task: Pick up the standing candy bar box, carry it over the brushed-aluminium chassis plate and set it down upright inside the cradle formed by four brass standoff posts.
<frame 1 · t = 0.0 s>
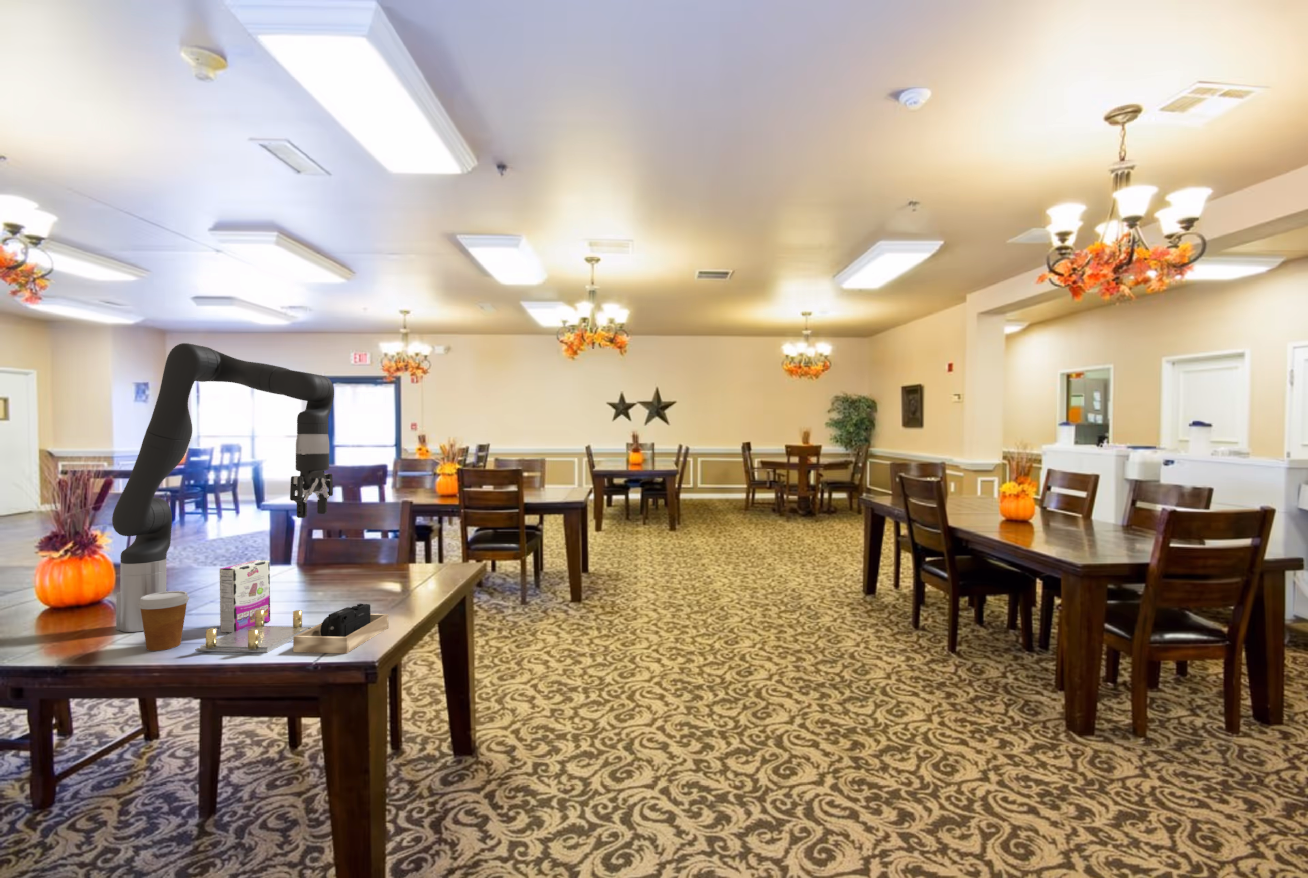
hand: (312, 515, 158), 29 cm above the table, fingers open, 8 cm apart
chassis: (256, 641, 150), on the table
camera: (344, 640, 152), resting in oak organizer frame
candy bar box: (245, 627, 161), on the table
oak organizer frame: (343, 639, 151), on the table
disposable coffee cup: (163, 647, 146), on the table
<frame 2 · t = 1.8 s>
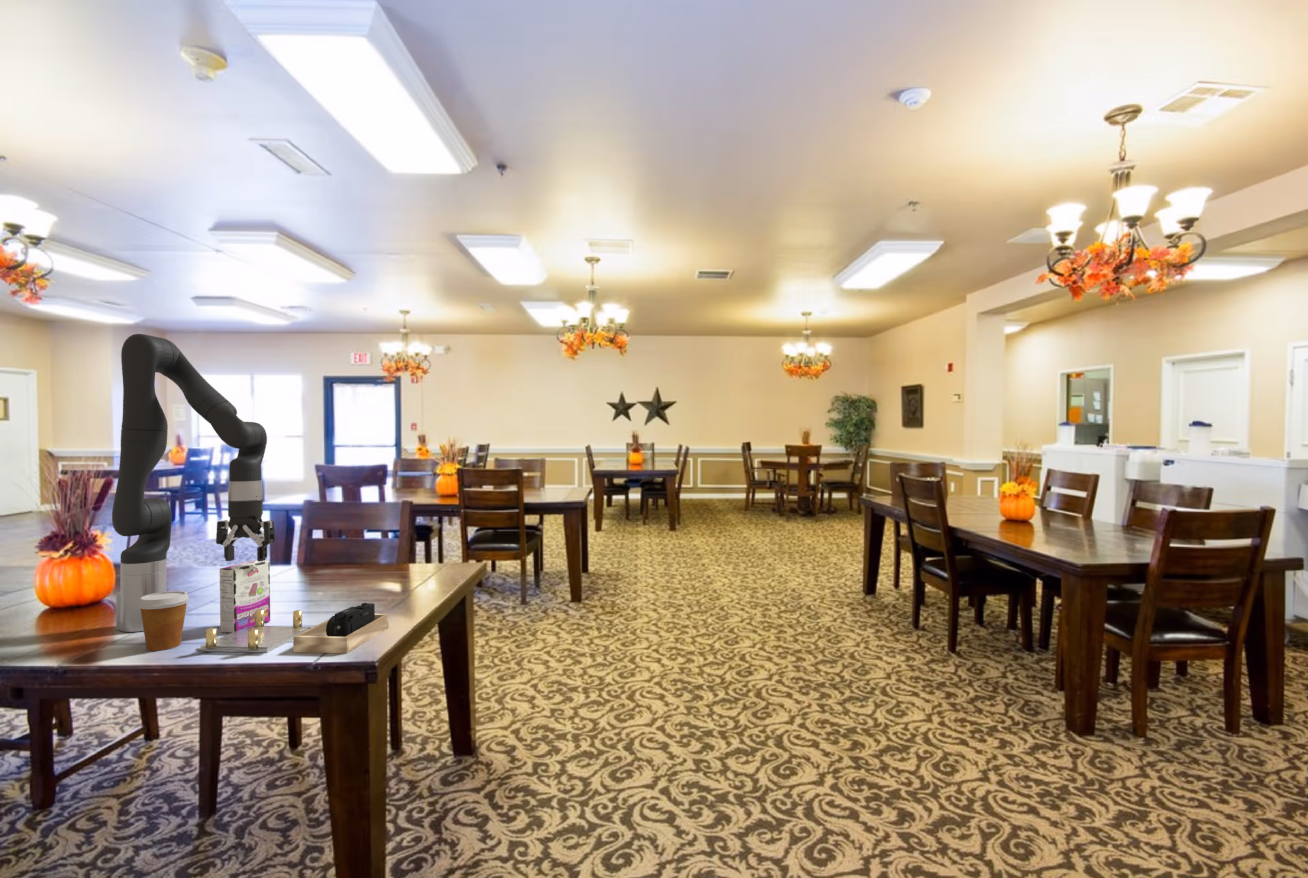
hand: (245, 560, 161), 17 cm above the table, fingers open, 8 cm apart
camera: (349, 639, 152), resting in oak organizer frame
everything else where it was.
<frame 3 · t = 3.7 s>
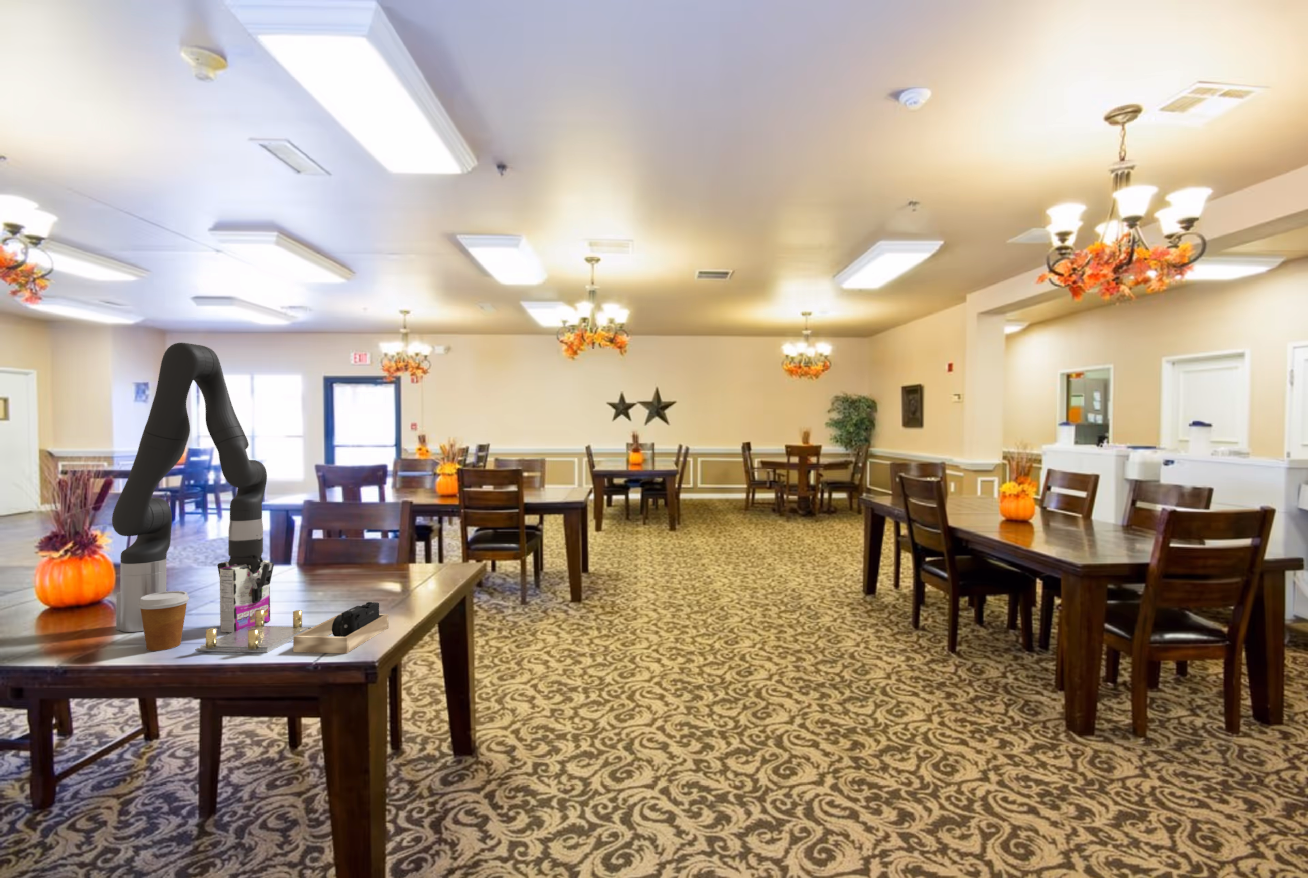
hand: (245, 601, 161), 6 cm above the table, fingers closed on candy bar box, 5 cm apart
camera: (355, 638, 153), resting in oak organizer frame
candy bar box: (245, 627, 161), on the table, touching gripper
everything else where it was.
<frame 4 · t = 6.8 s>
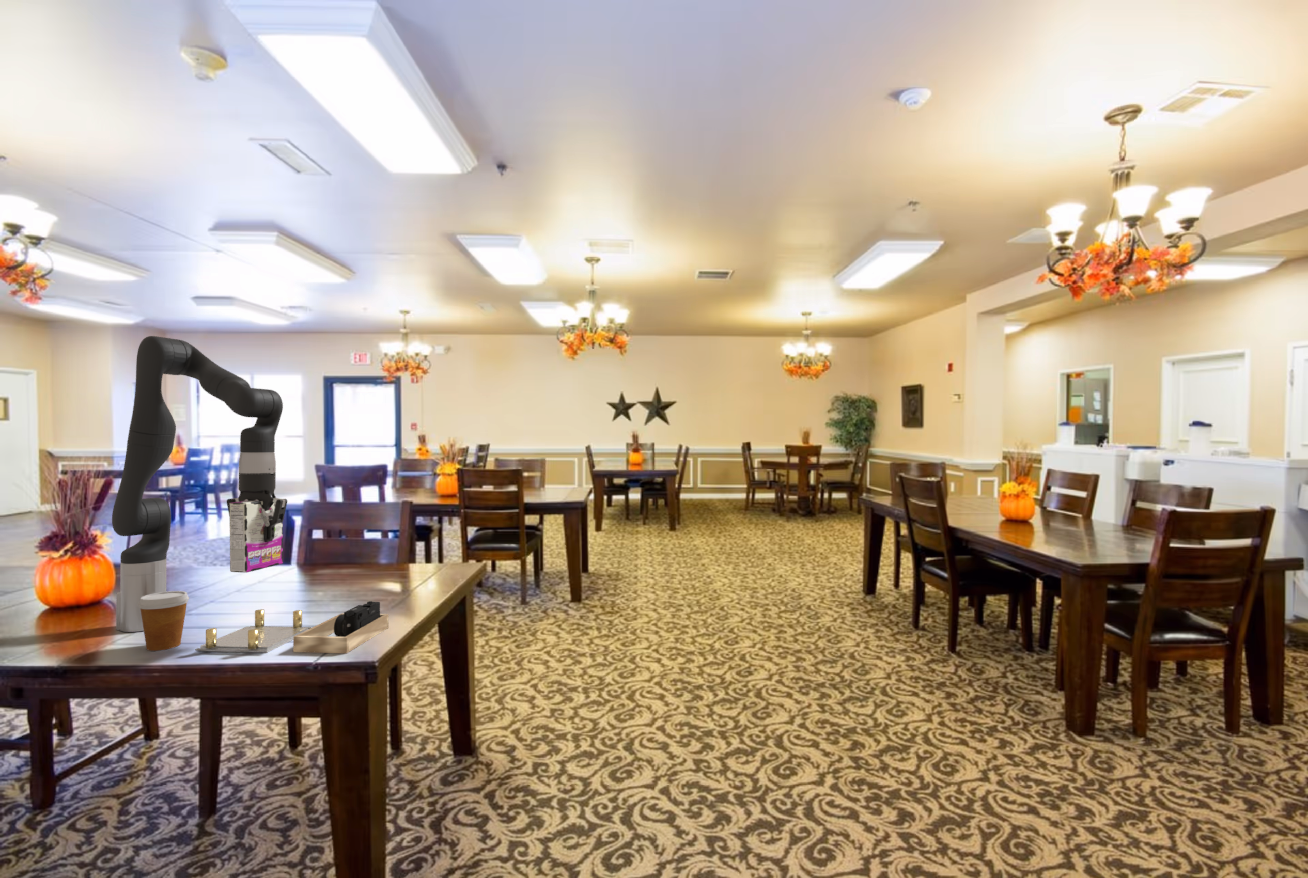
hand: (256, 541, 150), 24 cm above the table, fingers closed on candy bar box, 5 cm apart
camera: (356, 637, 154), resting in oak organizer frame
candy bar box: (256, 568, 150), point 17 cm above the table, touching gripper
everything else where it was.
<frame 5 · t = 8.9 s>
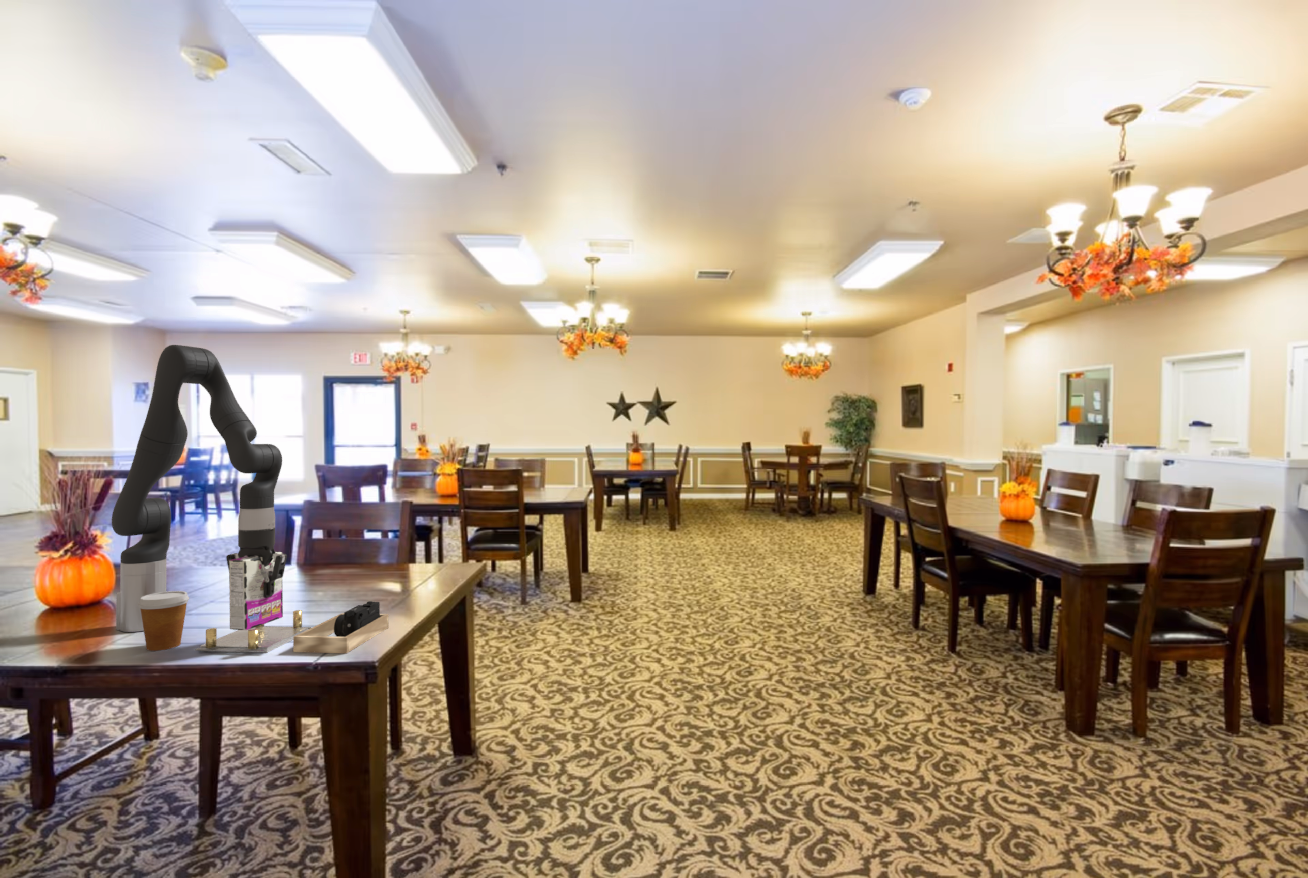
hand: (256, 596, 150), 11 cm above the table, fingers closed on candy bar box, 5 cm apart
candy bar box: (256, 624, 150), point 4 cm above the table, touching gripper
everything else where it was.
when the fingers open (9 cm above the table, at t = 10.2 s): candy bar box drops 1 cm, resting on chassis.
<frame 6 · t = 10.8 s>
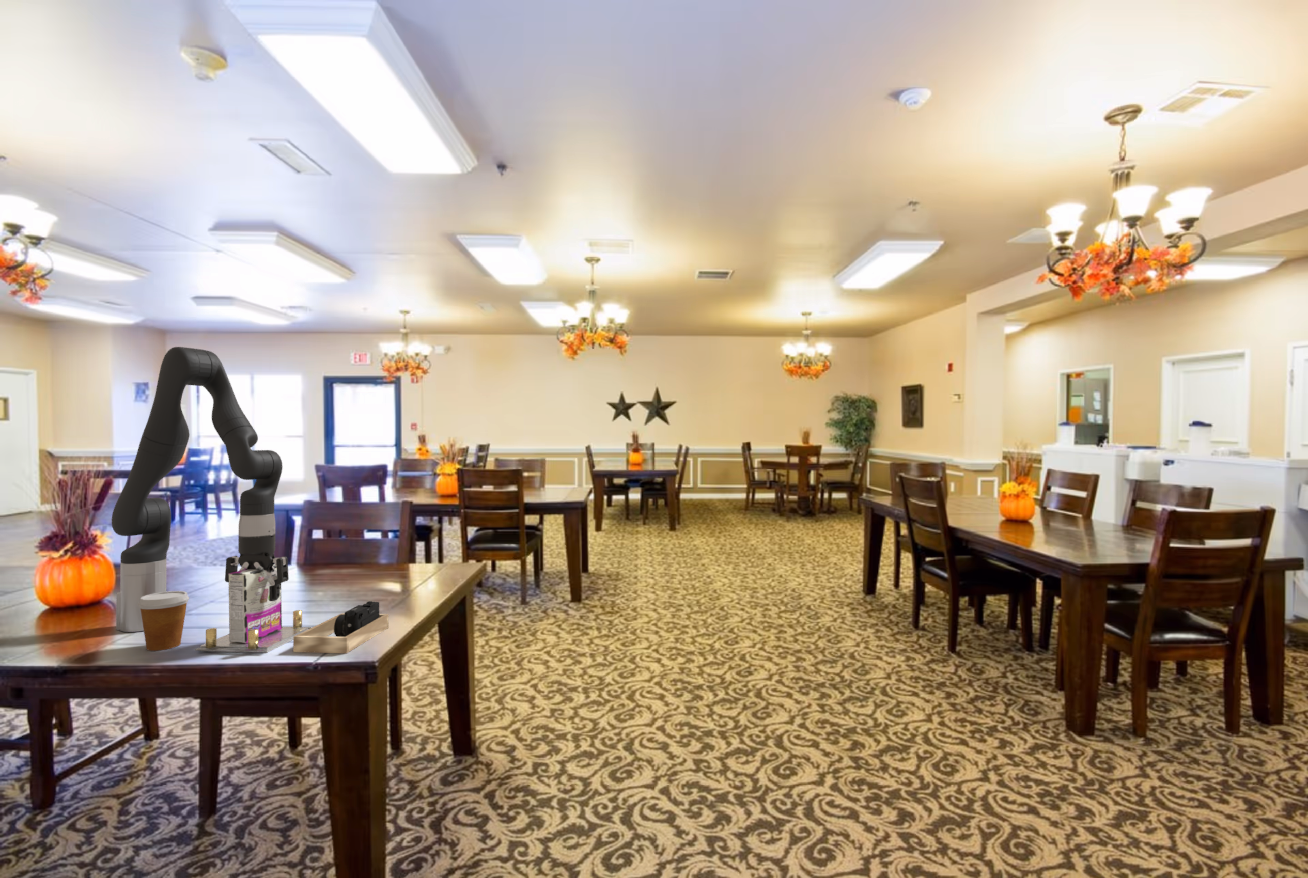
hand: (256, 600, 150), 10 cm above the table, fingers open, 8 cm apart
camera: (356, 637, 154), resting in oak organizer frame
candy bar box: (255, 637, 150), point 1 cm above the table, touching chassis
everything else where it was.
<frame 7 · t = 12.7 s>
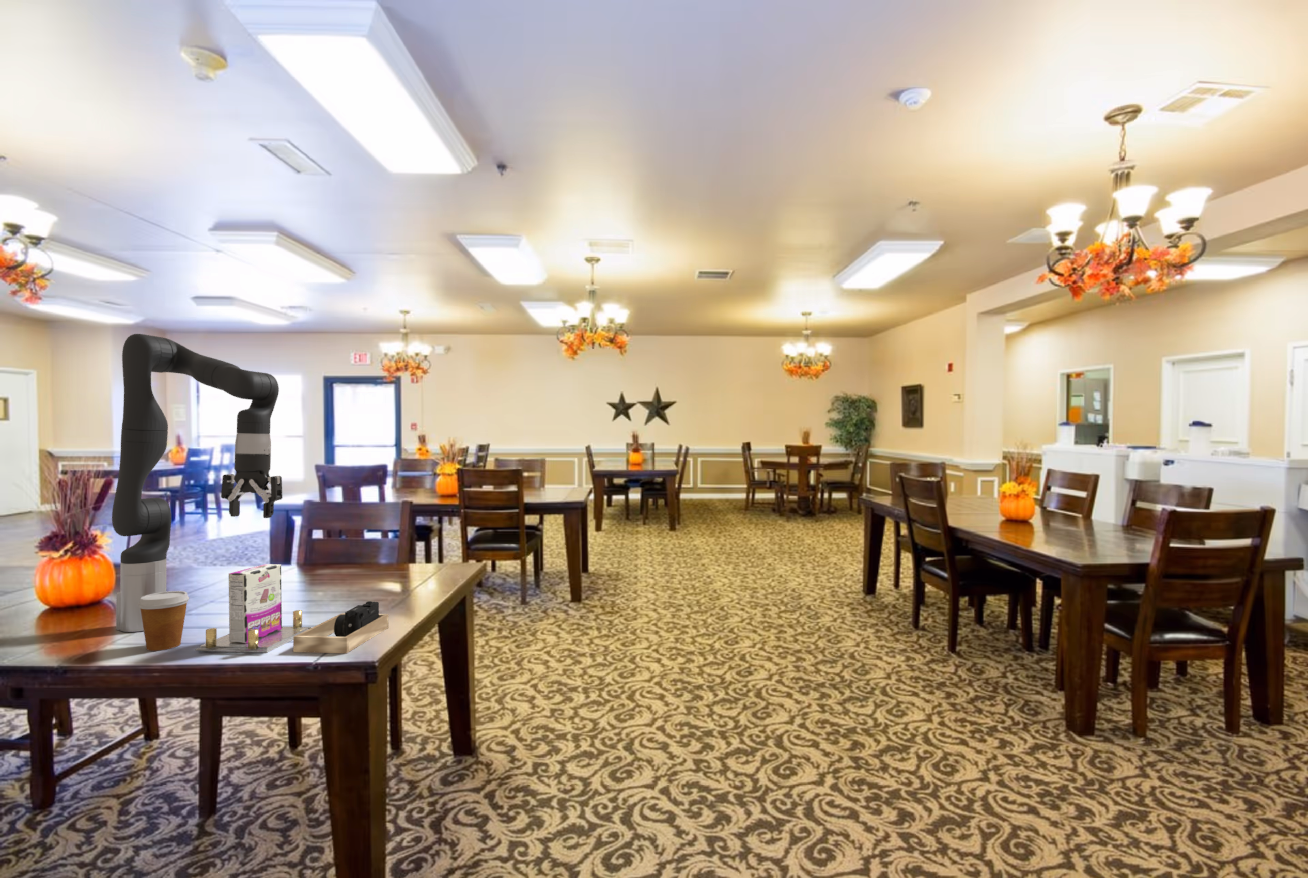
hand: (251, 517, 154), 29 cm above the table, fingers open, 8 cm apart
nothing on the table moved.
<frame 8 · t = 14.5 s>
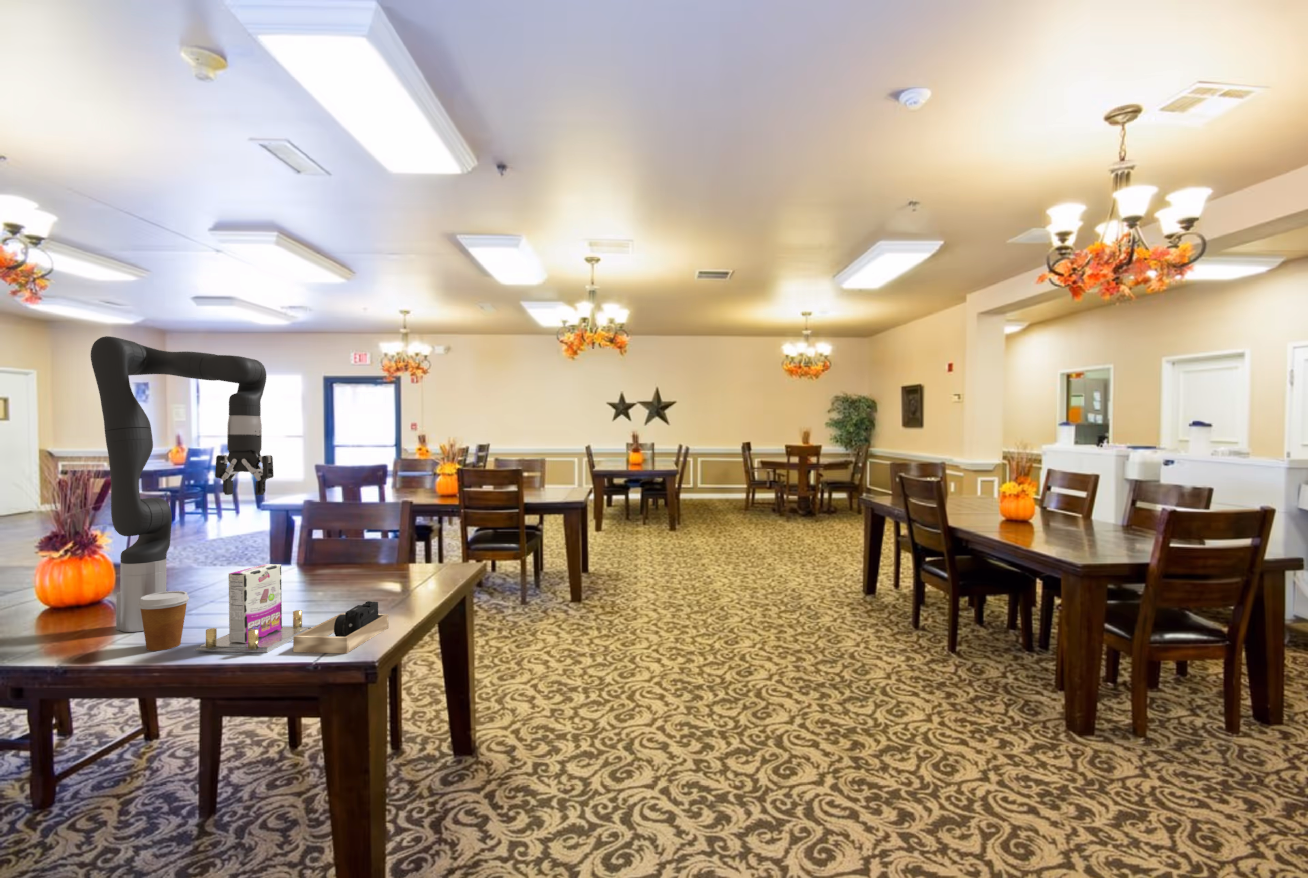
hand: (244, 494, 164), 34 cm above the table, fingers open, 8 cm apart
nothing on the table moved.
at the end: candy bar box inside the target area on the chassis (0.2 cm from its centre), point 1.0 cm above the chassis's base; candy bar box tilted 0°; the gripper is holding nothing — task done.
